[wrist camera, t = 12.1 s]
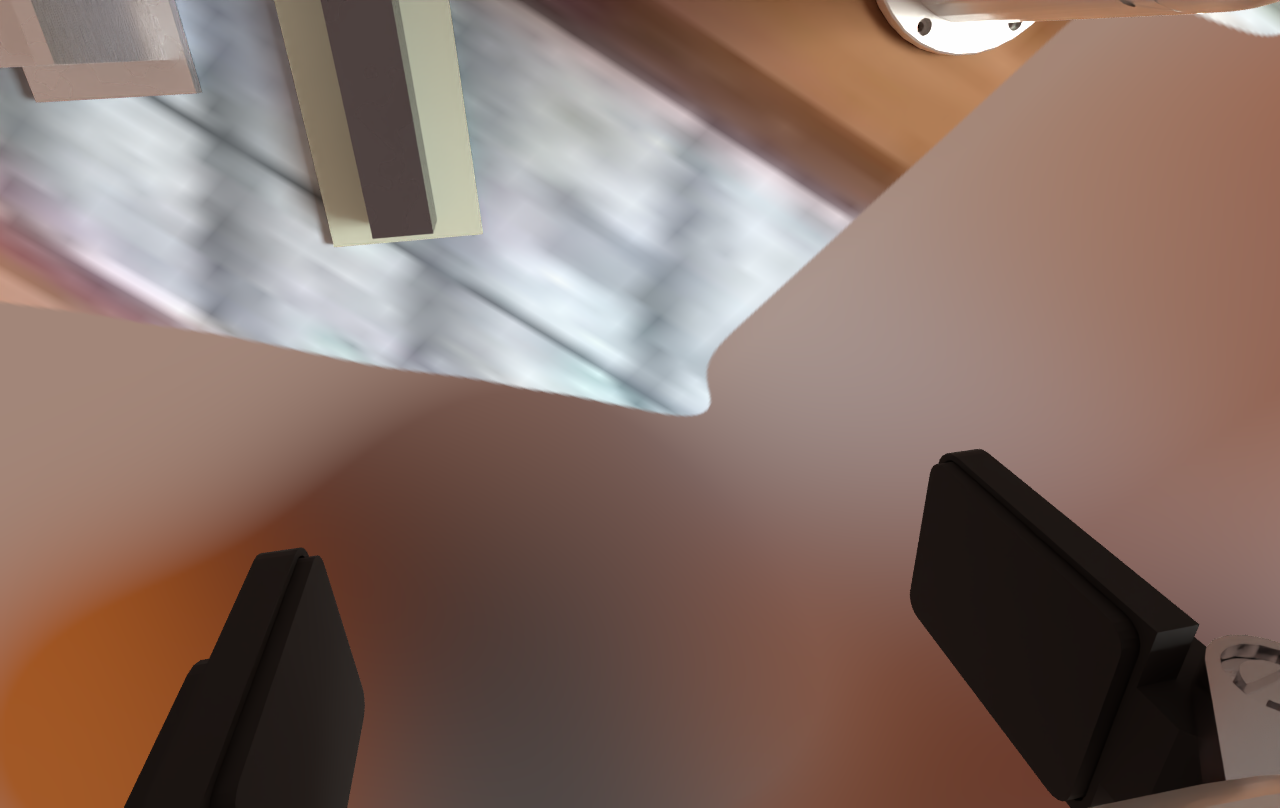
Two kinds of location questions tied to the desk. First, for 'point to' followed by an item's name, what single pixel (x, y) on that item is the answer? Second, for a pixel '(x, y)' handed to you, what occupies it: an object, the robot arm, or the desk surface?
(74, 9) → the rack
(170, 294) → the desk surface
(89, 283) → the desk surface
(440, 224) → the mat
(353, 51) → the rail
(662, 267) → the desk surface
